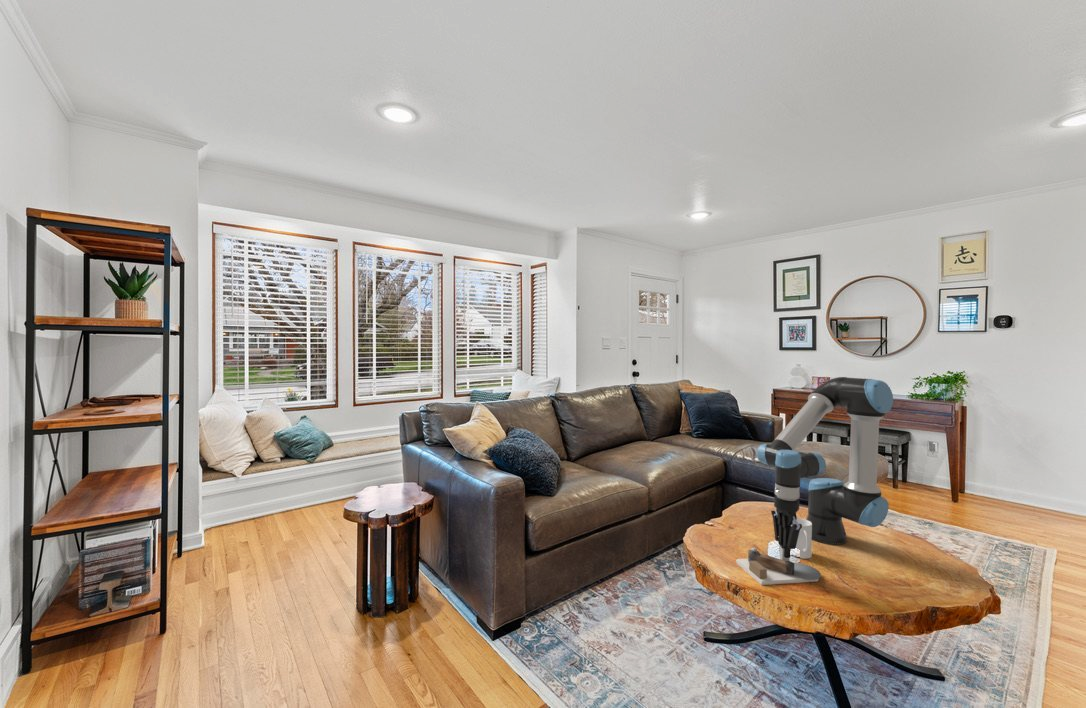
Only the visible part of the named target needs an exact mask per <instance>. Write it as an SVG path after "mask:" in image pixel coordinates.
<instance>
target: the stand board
mask: <svg viewBox="0 0 1086 708" xmlns="http://www.w3.org/2000/svg"><path fill="white" fill-rule="evenodd" d="M750 550H751V551H752V552H757V551H758V548H756V547H751V548H750ZM773 557H774V558H776V557H777V556H773ZM778 559H779V558H778ZM791 562H793V563H794V574H793V575H790V574H787V573H784V572H781V571H778V570H774V569H771V568H768V567H765V566H762V565H761V564H760V563H758V562H757V561H748V558H737V559H736V560H735V563H736V564H737V565H738V566H739V567H740V568H741V569H743V570H744V571H745V572H746V573H747V574H749V576H751V577H752V578H753V579H754V580H755V581H756V582H757V583H758V584H760V585H761V586H765V585H767V586H769V585H778V584H779V585H780V584H781V585H784V584H795V583H796V584H797V583H798V584H799V583H811V582H819V580H820V579H821V577H822V574H821V572H820V570H819V569H817V568H816V567H813V566H812V565H809V564H807V563H806V564H804V563H801V562H797V561H796V560H794V561H791Z"/></svg>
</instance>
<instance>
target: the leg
mask: <svg viewBox="0 0 1086 708" xmlns="http://www.w3.org/2000/svg"><path fill="white" fill-rule="evenodd" d="M747 552H748V554H747V555H748V557H747V559H748V561H757V562H758V563H760V564H761V565H762V566H765V567H768V568H771V569H774V570H778V571H781V572H784V573H787V574H790V575H793V574H794V563H793V562H791V561H784V560H781V559H778V558H774V557H775V556H770V555H768V554H763V553H760V551H758V550H757V552H752V551H751V549H749V550H748V551H747Z"/></svg>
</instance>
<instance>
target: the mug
mask: <svg viewBox="0 0 1086 708" xmlns="http://www.w3.org/2000/svg"><path fill="white" fill-rule="evenodd" d="M797 522H798V524H801V525H802V528H801V529H800V531H799V536H798V540H797V544H796V548H797V549H799V550H800V558H799V559H802V560H803V559H805V560H807V559H811V558H812V556H813V554H812V543H813V542H812V541H813V540H812V523H811V522H810V521H808V520H806V518H805V519H804V518H802V517H797Z"/></svg>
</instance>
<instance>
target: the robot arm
mask: <svg viewBox="0 0 1086 708" xmlns="http://www.w3.org/2000/svg"><path fill="white" fill-rule="evenodd" d="M893 404H894V395H893V391H892V388H891V386H890V385H889V384H887V383H886V382H885V381H883V380H880V379H879V380H878V379H874V378H861V377H860V378H859V377H858V378H857V377H847V376H837V377H834V378H830V379H829V380H826V381H824V382H823V383H821V384H820V385H818V386H817V387H816V388H814V389H813V390H812V392H811V393H810V394H809V395H808V397H807V401H806V402H805V404H804V405H803V406H802V407H801V408H800V410H799V411H798V412H797V413H796V414H795V415H794V417H793V418H792V419H790V421H789V422H788V424H787V425H786V426H785V427H784V428H783V429H782V430H781V432H780V433H779V434H778V435H777V436H776V437H775V439H774V440H773V441H772V442H771V443H770V444H769V443H763V444H760V445H759V446H758V447H757V449H756V457H757V459H758V461H759V462H760V463H762V464H764V465H766V466H769V467H773V468H775V469H774V470H775V471H774V472H775V474H774V475H775V477H774V478H775V480H774V498H773V506H774V508H775V510H771V512H770V513H771V516H772V523H773V531H774V540H775V541H777V542H778V545H779V549H778V551H779V557H780V559H781V560H784V561H790V558H791V555H790V551H791V549H795V548H796V544H797V540H798V536H799V531H800V529H801V528H802V525H801V524H798V522H797V518H798V517H797V513H798V511H799V510H800V498H801V479H802V478H808V477H815V476H818V475H821V474H823V473H824V472H825V470H826V468H827V463H826V460H825V458H824V457H823V456H822V455H821V454H819V453H817V452H807V453H806V452H805V453H804V452H800V451H798V450H797V448H798V447H799V446H800V445H801V444H802V442H804V440H805V439H807V436H808V435H809V434H810V433H811V432H812V431H813V429H814V428H815V427H816V426H817V425H818V423H819V422H820V421H821V420H822V419H823V417H824V416H826V414H827V413H828V414H829V413H831V412H832V411H834V409H835V408H839V407H840V408H846V415H848V416H849V418H850V441H849V465H848V466H849V467H848V480H847V482H845V483H844V481H842V480H840V479H836V478H831V477H830V478H829V477H819V478H818V477H817V478H812V479H810V481H809V482H808V483H809V484H808V489H807V490H808V498H807V499H808V505H807V509H808V511H807V516H806V518H805V520H808V521H810V522H811V523H812V541H816V542H818V543H823V544H828V545H842V544H846V542H847V537H848V535H847V533H846V529H845V526H844V524H843V519H846V520H849V521H851V522H854V523H857V524H859V525H862V526H867V527H870V528H876V527H878V526H880V525H881V524H882V523H884V521H885V519H886V518H887V516H888V513H889V504H890V503H889V501H888V500H887V498H885V497H884V496H882V489H881V488H880V487H879V486H878V484H877V483H878V482H877V479H878V461H879V460H878V458H879V455H878V454H879V438H880V437H879V436H880V435H879V434H880V421H881V420H882V419H884V418H885V414H887V413H889V412H891V410H892V406H893Z"/></svg>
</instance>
